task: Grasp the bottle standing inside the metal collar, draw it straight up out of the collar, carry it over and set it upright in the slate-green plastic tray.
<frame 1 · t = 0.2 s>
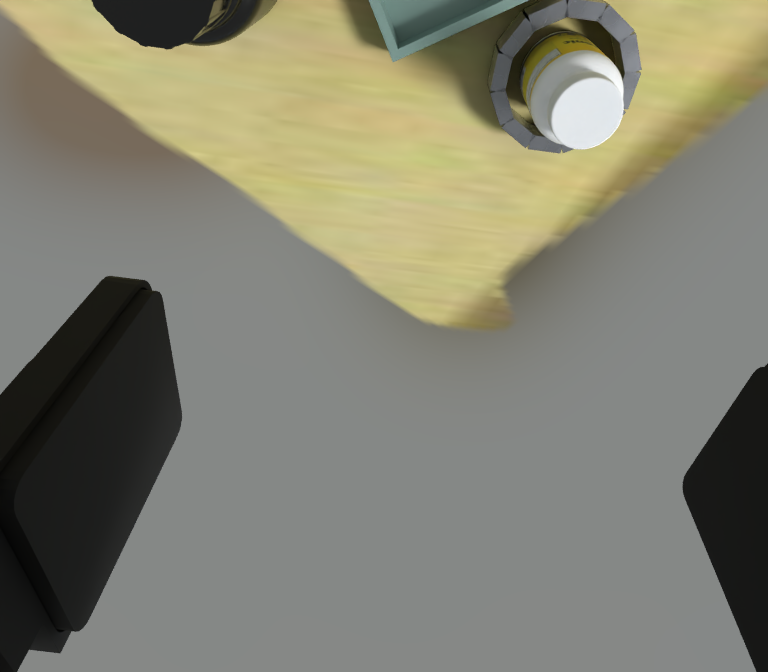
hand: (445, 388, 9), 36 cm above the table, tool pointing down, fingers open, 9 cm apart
supplement bottle: (557, 71, 40), resting in collar
collar: (558, 72, 40), on the table
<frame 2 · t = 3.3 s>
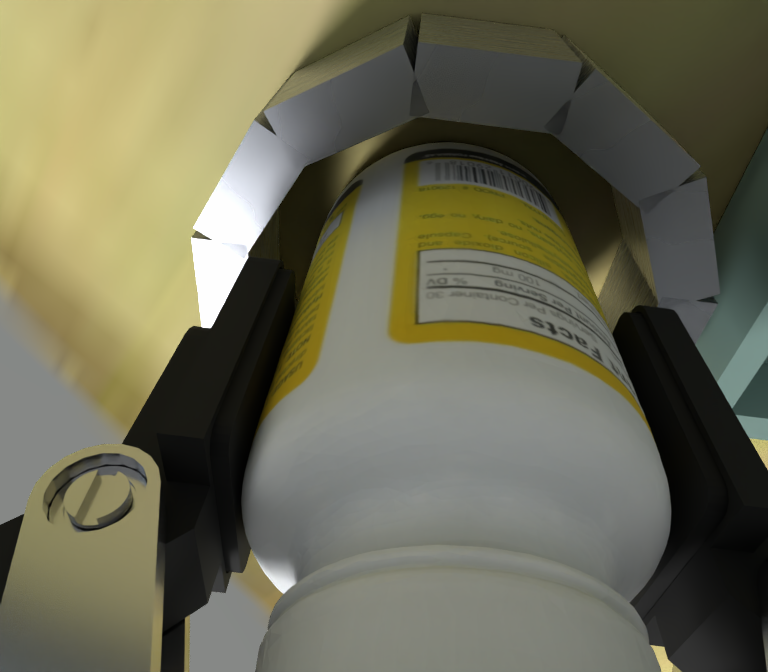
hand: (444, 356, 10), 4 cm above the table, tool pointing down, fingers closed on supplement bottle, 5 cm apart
supplement bottle: (443, 252, 13), resting in collar, touching gripper
collar: (443, 256, 13), on the table
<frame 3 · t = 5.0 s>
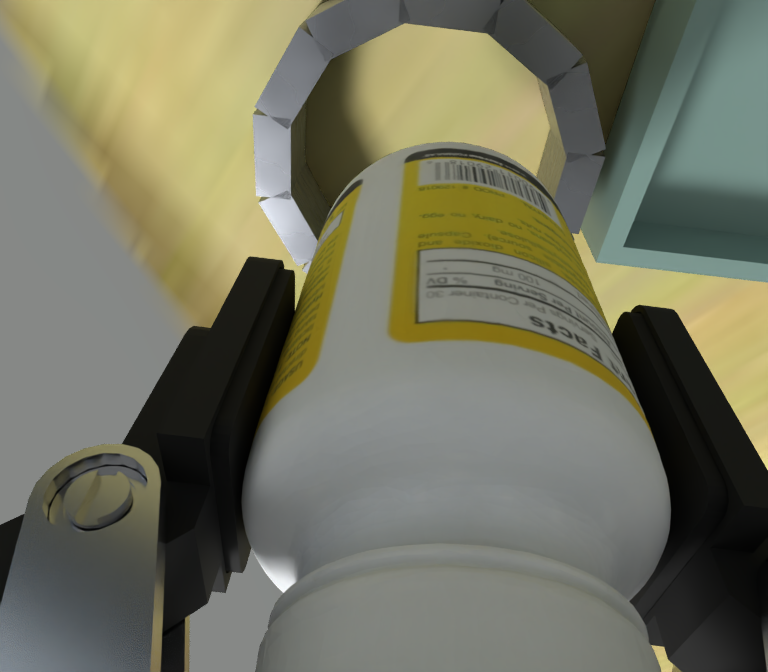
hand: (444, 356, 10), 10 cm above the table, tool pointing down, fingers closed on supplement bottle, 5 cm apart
supplement bottle: (443, 251, 13), point 6 cm above the table, touching gripper
collar: (424, 145, 18), on the table
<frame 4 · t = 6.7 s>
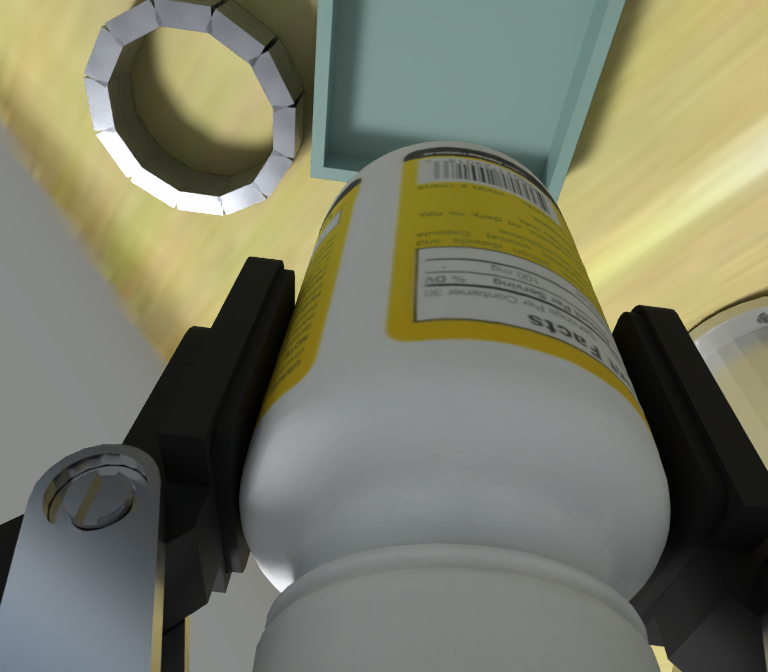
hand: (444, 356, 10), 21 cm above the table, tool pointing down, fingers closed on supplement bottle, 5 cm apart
supplement bottle: (442, 250, 13), point 17 cm above the table, touching gripper
tray: (455, 48, 26), on the table
collar: (208, 102, 28), on the table
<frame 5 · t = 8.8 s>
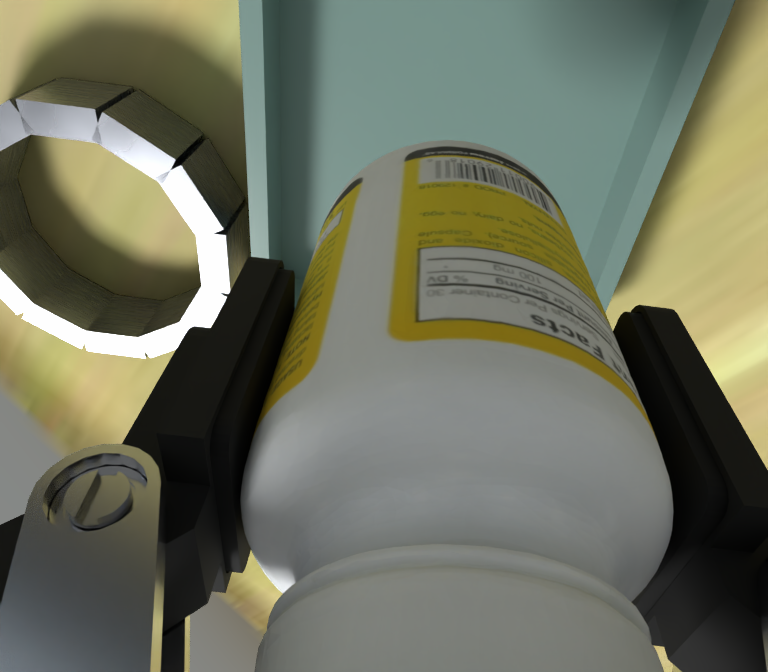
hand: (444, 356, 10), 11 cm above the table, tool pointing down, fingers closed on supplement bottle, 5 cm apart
supplement bottle: (443, 250, 13), point 7 cm above the table, touching gripper
tray: (447, 149, 19), on the table
collar: (123, 215, 21), on the table
when the fingers open (5 cm above the table, at t = 10.3 s): supplement bottle drops 1 cm, resting on tray.
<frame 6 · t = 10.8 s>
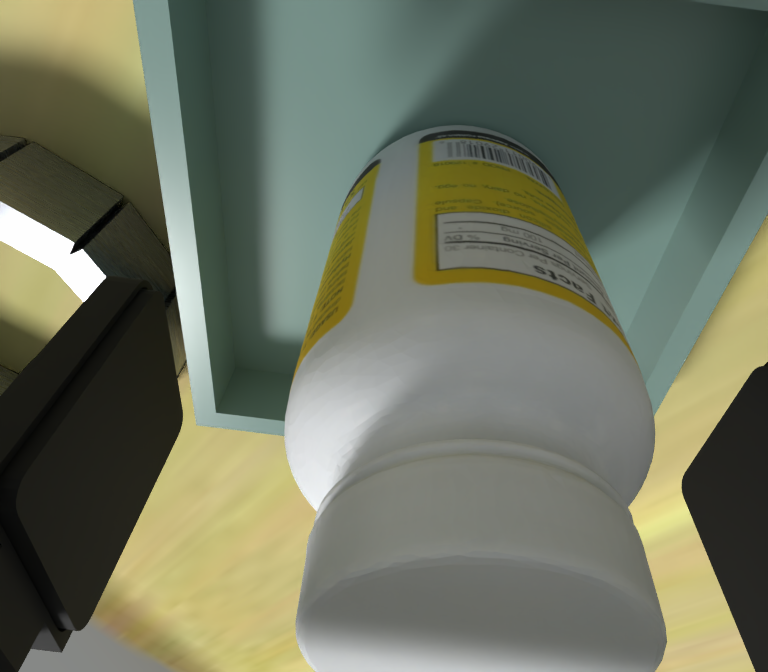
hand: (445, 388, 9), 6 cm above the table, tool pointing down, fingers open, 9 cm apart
supplement bottle: (452, 228, 14), resting on tray
tray: (442, 217, 14), on the table
collar: (31, 292, 17), on the table
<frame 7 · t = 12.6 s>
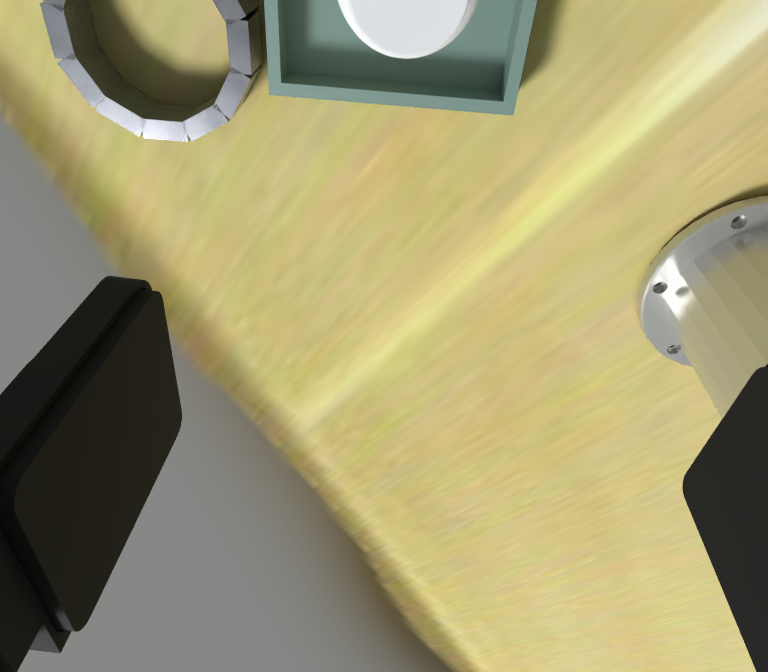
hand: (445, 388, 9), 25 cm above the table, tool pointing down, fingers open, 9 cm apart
collar: (166, 28, 28), on the table
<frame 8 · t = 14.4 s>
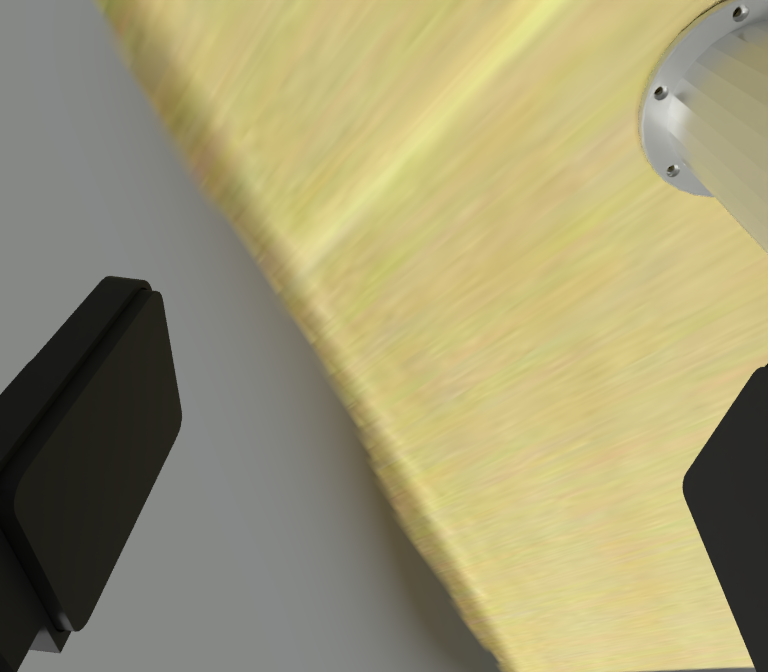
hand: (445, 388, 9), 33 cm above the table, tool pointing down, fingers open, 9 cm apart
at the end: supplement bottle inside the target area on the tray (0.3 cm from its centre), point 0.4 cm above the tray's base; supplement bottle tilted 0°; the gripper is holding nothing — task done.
